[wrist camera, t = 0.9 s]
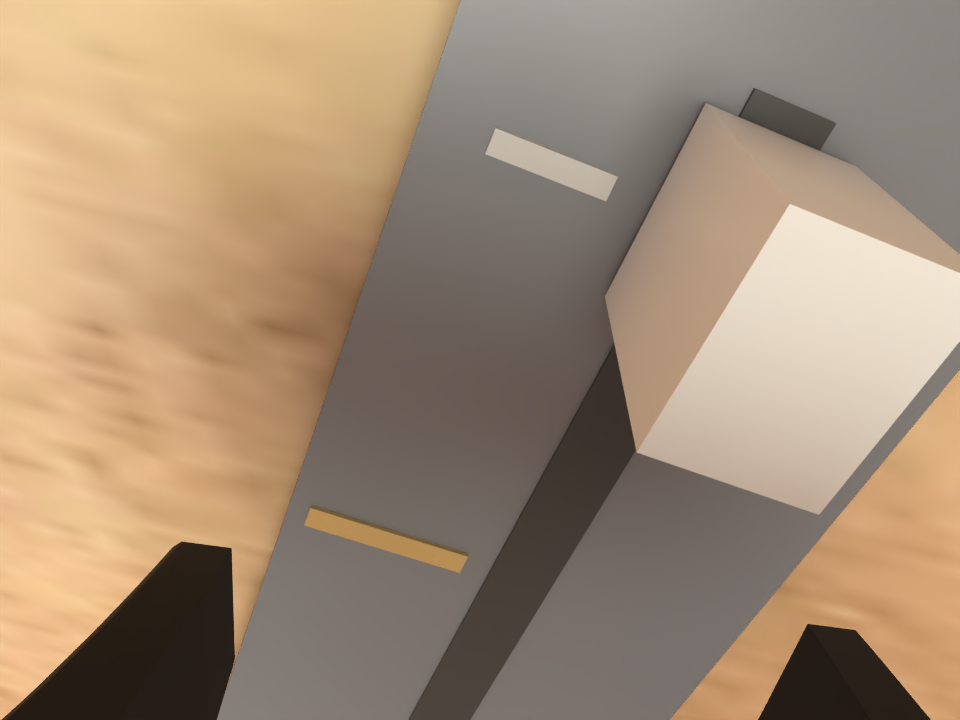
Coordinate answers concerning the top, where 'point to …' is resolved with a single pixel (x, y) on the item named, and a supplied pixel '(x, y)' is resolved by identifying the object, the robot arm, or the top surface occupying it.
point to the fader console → (564, 369)
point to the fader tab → (776, 313)
